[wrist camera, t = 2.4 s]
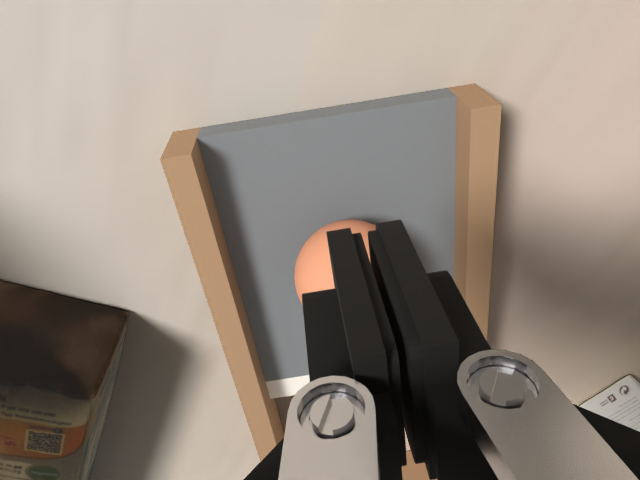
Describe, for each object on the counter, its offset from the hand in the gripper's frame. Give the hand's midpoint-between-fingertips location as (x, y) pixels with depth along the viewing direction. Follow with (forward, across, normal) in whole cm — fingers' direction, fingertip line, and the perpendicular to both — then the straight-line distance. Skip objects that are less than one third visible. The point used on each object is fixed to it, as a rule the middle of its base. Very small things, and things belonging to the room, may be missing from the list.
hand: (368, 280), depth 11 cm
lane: (+13, 0, +13) cm, 18 cm away
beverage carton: (+13, +19, +15) cm, 28 cm away
